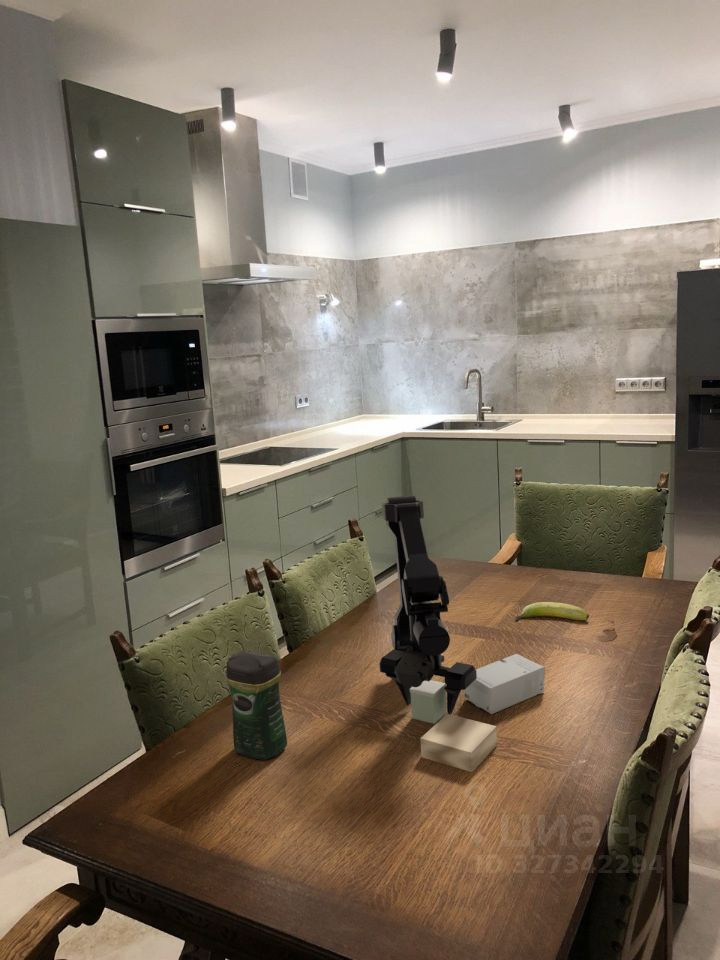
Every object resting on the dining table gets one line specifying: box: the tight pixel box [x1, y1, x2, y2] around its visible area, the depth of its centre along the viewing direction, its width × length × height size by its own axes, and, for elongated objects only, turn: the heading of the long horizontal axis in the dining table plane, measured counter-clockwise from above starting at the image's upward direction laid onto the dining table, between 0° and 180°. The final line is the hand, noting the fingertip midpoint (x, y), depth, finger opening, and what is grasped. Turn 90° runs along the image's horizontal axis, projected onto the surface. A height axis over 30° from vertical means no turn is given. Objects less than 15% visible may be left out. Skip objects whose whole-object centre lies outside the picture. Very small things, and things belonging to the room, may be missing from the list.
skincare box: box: [464, 653, 546, 715], centre depth 157 cm, size 8×6×15 cm
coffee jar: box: [225, 650, 288, 760], centre depth 143 cm, size 10×8×19 cm
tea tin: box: [410, 679, 447, 725], centre depth 152 cm, size 5×5×6 cm
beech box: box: [420, 713, 498, 773], centre depth 139 cm, size 10×10×4 cm
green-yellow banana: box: [512, 599, 618, 643], centre depth 197 cm, size 35×27×4 cm
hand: (429, 709), depth 152 cm, fingers open, 9 cm apart
